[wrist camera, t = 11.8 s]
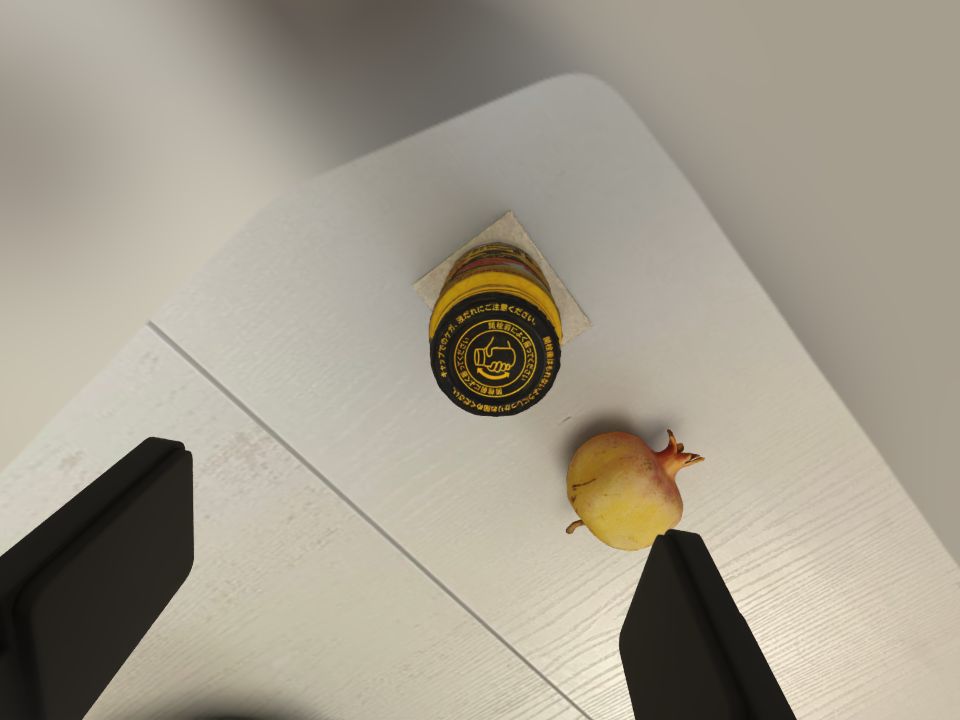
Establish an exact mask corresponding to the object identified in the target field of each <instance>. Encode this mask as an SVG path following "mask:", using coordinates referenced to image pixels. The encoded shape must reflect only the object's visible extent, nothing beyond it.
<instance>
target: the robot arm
mask: <svg viewBox="0 0 960 720" xmlns="http://www.w3.org/2000/svg"><path fill="white" fill-rule="evenodd" d="M193 561H194V527H193V458H192V454H191V452H190V451H187V450H185V446H184V444H183V443H182V442H179V441H174V440H168V439H162V438H157V437H149V438H147V439H146V440H144V441H143V442H142V443H141V444H139V445H138V446H137V447H136V448H134V449H133V450H132V451H131V452H129V453H128V454H127V455H126V456H124V457H123V458H122V459H121V460H119V461H118V462H117V463H116V464H114V465H113V466H112V467H111V468H110V469H108V470H107V471H106V472H105V473H103V474H102V475H101V476H100V477H98V478H97V479H96V480H95V481H93V482H92V483H91V484H90V485H88V486H87V487H86V488H85V489H84V490H82V491H81V492H80V493H79V494H77V495H76V496H75V497H74V498H72V499H71V500H70V501H69V502H67V503H66V504H65V505H64V506H62V507H61V508H60V509H59V510H58V511H56V512H55V513H54V514H53V515H51V516H50V517H49V518H48V519H46V520H45V521H44V522H43V523H41V524H40V525H39V526H38V527H36V528H35V529H34V530H33V531H32V532H30V533H29V534H28V535H27V536H25V537H24V538H23V539H22V540H20V541H19V542H18V543H17V544H15V545H14V546H13V547H12V548H10V549H9V550H8V551H7V552H5V553H4V554H3V555H2V556H1V557H0V720H82V719H83V718H84V716H85V715H86V714H87V712H88V711H89V710H90V708H91V707H92V706H93V704H94V703H95V701H96V700H97V699H98V697H99V696H100V695H101V693H102V692H103V691H104V689H105V688H106V687H107V685H108V684H109V683H110V681H111V680H112V678H113V677H114V676H115V674H116V673H117V672H118V670H119V669H120V668H121V666H122V665H123V664H124V662H125V661H126V660H127V658H128V657H129V656H130V654H131V653H132V651H133V650H134V649H135V647H136V646H137V645H138V643H139V642H140V641H141V639H142V638H143V637H144V635H145V634H146V633H147V631H148V630H149V629H150V627H151V626H152V624H153V623H154V622H155V620H156V619H157V618H158V616H159V615H160V614H161V612H162V611H163V610H164V608H165V607H166V606H167V604H168V603H169V602H170V600H171V599H172V597H173V596H174V595H175V593H176V592H177V591H178V589H179V588H180V587H181V585H182V584H183V583H184V581H185V580H186V578H187V577H188V575H189V573H190V571H191V569H192V566H193ZM619 650H620V655H621V660H622V664H623V668H624V673H625V677H626V681H627V685H628V690H629V694H630V698H631V703H632V707H633V711H634V716H635V720H797V719H796V717H795V715H794V713H793V711H792V709H791V707H790V706H789V704H788V702H787V700H786V698H785V696H784V694H783V692H782V690H781V688H780V686H779V684H778V682H777V680H776V678H775V676H774V674H773V673H772V671H771V669H770V667H769V665H768V663H767V661H766V659H765V657H764V655H763V653H762V651H761V649H760V647H759V645H758V643H757V641H756V640H755V638H754V636H753V634H752V632H751V630H750V628H749V626H748V624H747V622H746V620H745V619H744V617H743V616H742V614H741V613H740V612H739V610H738V608H737V606H736V604H735V602H734V600H733V598H732V596H731V594H730V592H729V590H728V588H727V587H726V585H725V583H724V581H723V579H722V577H721V575H720V573H719V571H718V569H717V567H716V565H715V563H714V561H713V559H712V557H711V555H710V553H709V551H708V549H707V547H706V545H705V543H704V542H703V540H702V538H701V536H700V535H699V534H697V533H692V532H686V531H680V530H675V529H668V530H667V531H666V532H665V534H664V535H661V534H659V535H657V536H656V538H655V540H654V543H653V545H652V548H651V551H650V553H649V556H648V559H647V562H646V564H645V567H644V570H643V572H642V575H641V578H640V580H639V583H638V586H637V589H636V591H635V594H634V597H633V599H632V602H631V605H630V607H629V610H628V613H627V616H626V618H625V621H624V624H623V626H622V629H621V632H620V637H619Z"/></svg>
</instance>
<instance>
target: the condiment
mask: <svg viewBox="0 0 960 720" xmlns="http://www.w3.org/2000/svg"><path fill="white" fill-rule="evenodd" d="M412 287H413V288H414V290H415V291H416V292H417V293H418V295H419V296H420V297H421V298H422V300H423V301H424V302H425V303H426V304H427V306H428V307H429V308H430V309H431V311H432V312H433V313H432V315H431V318H430V324H429V343H430V359H431V368H432V371H433V374H434V377H435V379H436V381H437V384H438V386H439V387H440V389H441V390H442V391H443V392H444V393H445V395H447V397H448V398H449V399H450V400H451V401H452V402H453V403H454V404H455V405H457V406H458V407H460V408H461V409H463V410H465V411H467V412H469V413H472V414H474V415H480V416H493V417H499V416H511V415H516V414H518V413H520V412H523V411H525V410H527V409H529V408H530V407H532V406H533V405H535V404H537V403H538V402H539V401H540V400H541V399H542V398H543V397H544V396H545V395H546V394H547V392H548V391H549V390H550V389H551V388H552V385H553V383H554V381H555V378H556V376H557V373H558V371H559V369H560V365H561V364H560V357H561V350H560V349H561V346H563V345H564V344H566V343H567V342H568V341H570V340H571V339H573V338H574V337H576V336H578V335H579V334H581V333H582V332H584V331H585V330H587V329H588V328H590V327H591V326H592V324H591V323H590V322H589V320H588V319H587V317H586V316H585V315H584V313H583V312H582V310H581V309H580V307H579V306H578V305H577V303H576V302H575V300H574V299H573V298H572V296H571V295H570V294H569V292H568V291H567V289H566V288H565V286H564V285H563V284H562V282H561V281H560V279H559V278H558V276H557V275H556V274H555V272H554V271H553V269H552V268H551V267H550V265H549V264H548V262H547V261H546V259H545V258H544V257H543V255H542V254H541V252H540V251H539V250H538V248H537V247H536V245H535V244H534V243H533V241H532V240H531V238H530V237H529V235H528V234H527V233H526V231H525V230H524V228H523V227H522V226H521V224H520V223H519V221H518V220H517V219H516V217H515V216H514V214H513V213H512V212H511V210H510V211H509V212H508V213H506V214H505V215H504V216H503V217H501V218H500V219H499V220H497V221H496V222H495V223H493V224H492V225H491V226H489V227H488V228H487V229H485V230H484V231H483V232H481V233H480V234H479V235H477V236H476V237H475V238H474V239H472V240H471V241H470V242H468V243H467V244H466V245H464V246H463V247H462V248H460V249H459V250H458V251H456V252H455V253H454V254H453V255H451V256H450V257H449V258H447V259H446V260H445V261H443V262H442V263H441V264H439V265H438V266H437V267H436V268H434V269H433V270H432V271H431V272H429V273H428V274H427V275H425V276H424V277H423V278H421V279H420V280H419V281H417V282H416V283H415V284H413V285H412Z"/></svg>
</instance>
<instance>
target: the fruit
mask: <svg viewBox="0 0 960 720" xmlns="http://www.w3.org/2000/svg"><path fill="white" fill-rule="evenodd" d="M667 432H668V433H669V438H670V441H669V444H668V446H667V448H666V449H665V450H663V451H661V452H654V451H653V450H651V449H650V448H649V447H648V446H647V445H646V444H645V443H644V442H643V441H642V440H641V439H639V438H638V437H636V436H633V435H631V434H628V433H624V432H618V431H617V432H610V433H604V434H599V435H597V436H594V437H593V438H591V439H590V440H588V441H587V442H586V443H584V444H583V445H582V446H581V447H580V448H579V449H578V450H577V451H576V453H575V455H574V457H573V459H572V461H571V464H570V466H569V469H568V473H567V495H568V499H569V501H570V503H571V505H572V507H573V509H574V510H575V512H576V513H577V515H578V516H579V517H580V518H581V520H578V521H575V522H573V523H572V524H571V525H570V526H569V527H568V528H567V529H566V533H568V534H571V533H573V531H574V529H575V528H576V527H578V526H582V525H586V526H587V527H588V529H589V530H590V531H591V532H592V533H593V535H594V536H596V537H597V538H598V539H599V540H600V541H602V542H603V543H605V544H606V545H608V546H611V547H613V548H616V549H621V550H626V551H637V550H639V549H642V548H646V547H649V546H651V545H653V543H654V540H655V538H656V536H657V535H659V534H661V535H664V534H665V532H666V531H667V530H668V529H673V528H674V527H675V526H676V525H677V524H678V523H679V522H680V520H681V517H682V512H683V502H682V499H681V495H680V492H679V490H678V487H677V485H676V483H675V475H676V473H677V472H678V471H679V470H680V469H681V468H683V467H686V466H690V465H692V464H694V463H697V462H700V461H703V460H704V459H705V458H702V457H700V455H698V454H692V453H681V452H682V451H683V450H684V446H683V444H682V443H680V444H676V440H675V438H674V435H673V433H672V431H671V430H669V429H667ZM699 457H700V458H699ZM694 458H697V459H695V460H693V461H690V460H692V459H694Z"/></svg>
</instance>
